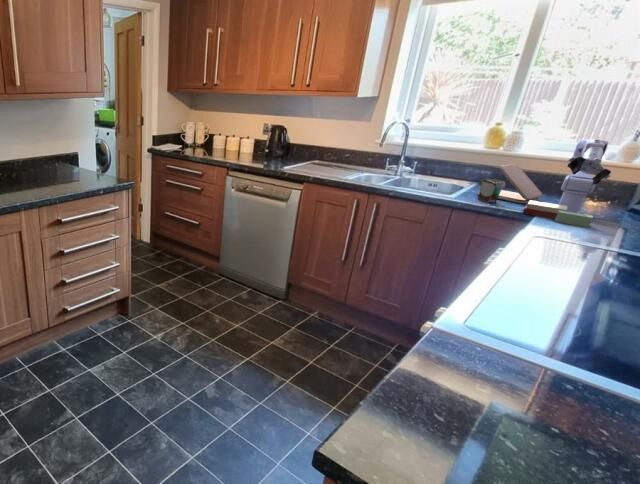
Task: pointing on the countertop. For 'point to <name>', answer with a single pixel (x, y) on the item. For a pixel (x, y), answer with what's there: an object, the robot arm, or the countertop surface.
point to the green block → (573, 218)
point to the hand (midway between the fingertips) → (586, 177)
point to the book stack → (543, 209)
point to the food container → (490, 190)
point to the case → (518, 186)
